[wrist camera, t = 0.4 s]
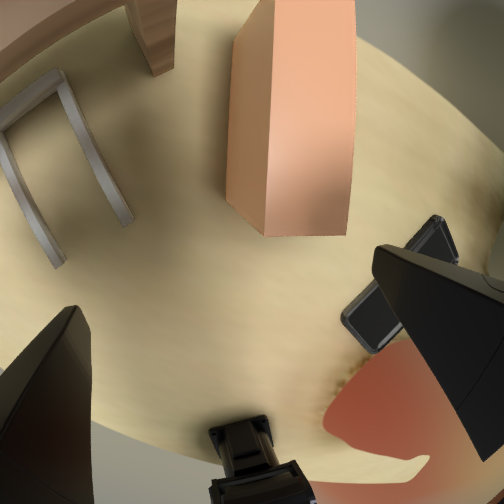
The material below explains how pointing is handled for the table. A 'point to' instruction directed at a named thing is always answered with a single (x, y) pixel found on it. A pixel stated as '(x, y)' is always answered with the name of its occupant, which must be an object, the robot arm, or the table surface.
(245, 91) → the terracotta panel
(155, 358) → the table surface
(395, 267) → the robot arm
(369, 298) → the phone
